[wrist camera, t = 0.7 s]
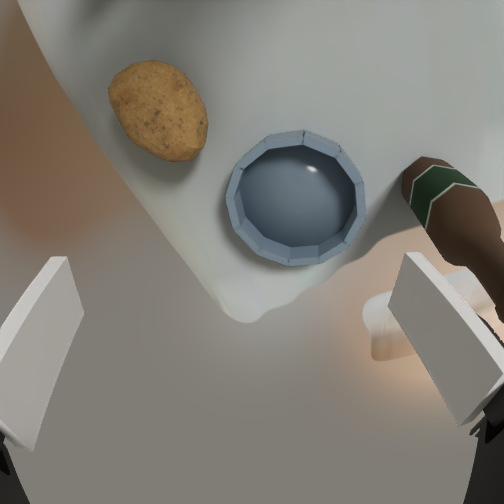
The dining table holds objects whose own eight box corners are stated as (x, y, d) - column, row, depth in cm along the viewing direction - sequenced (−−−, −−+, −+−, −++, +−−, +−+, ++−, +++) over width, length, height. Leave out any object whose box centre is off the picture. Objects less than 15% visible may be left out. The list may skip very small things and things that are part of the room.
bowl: (222, 142, 37) (213, 149, 33) (353, 124, 32) (358, 129, 29) (249, 253, 44) (243, 269, 41) (363, 244, 40) (367, 260, 37)
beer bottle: (405, 218, 37) (470, 363, 17) (392, 162, 34) (478, 280, 14) (456, 203, 34) (550, 330, 14) (446, 147, 31) (569, 244, 11)
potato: (183, 169, 39) (156, 190, 33) (120, 96, 35) (84, 103, 28) (239, 123, 35) (220, 135, 28) (168, 44, 31) (135, 40, 24)
